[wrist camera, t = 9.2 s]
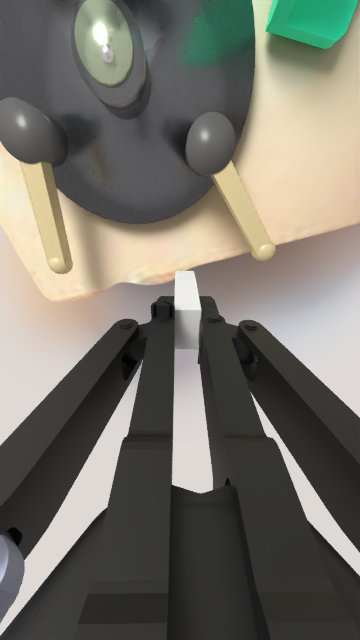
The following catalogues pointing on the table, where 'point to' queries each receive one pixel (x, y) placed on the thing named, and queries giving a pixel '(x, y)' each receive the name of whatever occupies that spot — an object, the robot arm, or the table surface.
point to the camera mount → (311, 20)
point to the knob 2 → (226, 177)
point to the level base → (160, 135)
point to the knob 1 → (39, 171)
